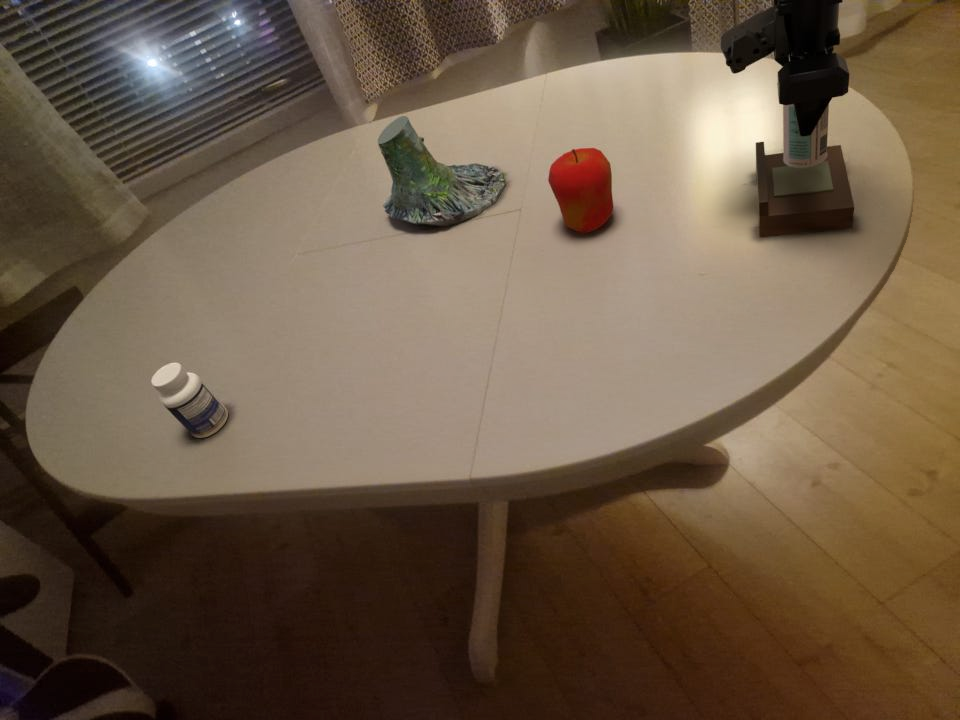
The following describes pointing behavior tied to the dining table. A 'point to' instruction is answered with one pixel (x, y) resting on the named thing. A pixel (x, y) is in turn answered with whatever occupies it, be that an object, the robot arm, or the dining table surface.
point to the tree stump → (433, 181)
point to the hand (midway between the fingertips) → (803, 124)
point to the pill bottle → (189, 400)
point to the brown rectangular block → (802, 194)
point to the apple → (583, 188)
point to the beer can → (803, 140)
